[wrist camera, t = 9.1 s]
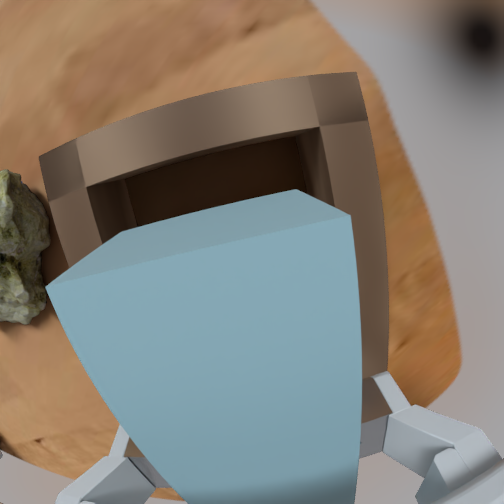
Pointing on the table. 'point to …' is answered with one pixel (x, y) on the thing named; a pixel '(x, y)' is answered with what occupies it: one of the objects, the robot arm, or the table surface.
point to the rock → (21, 250)
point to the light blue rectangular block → (229, 347)
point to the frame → (228, 137)
